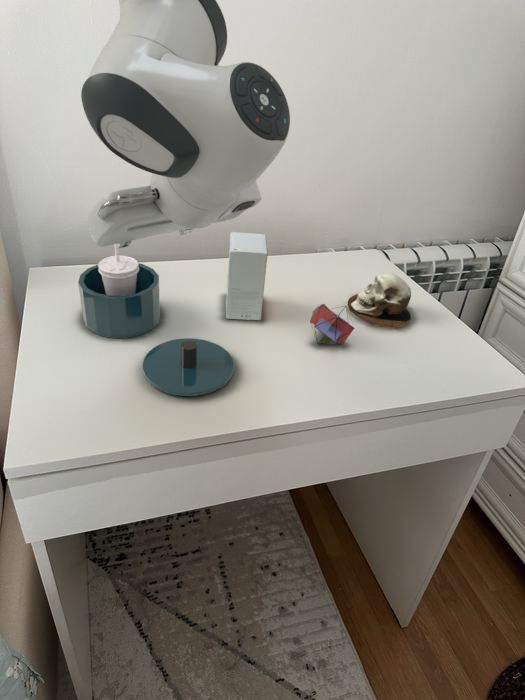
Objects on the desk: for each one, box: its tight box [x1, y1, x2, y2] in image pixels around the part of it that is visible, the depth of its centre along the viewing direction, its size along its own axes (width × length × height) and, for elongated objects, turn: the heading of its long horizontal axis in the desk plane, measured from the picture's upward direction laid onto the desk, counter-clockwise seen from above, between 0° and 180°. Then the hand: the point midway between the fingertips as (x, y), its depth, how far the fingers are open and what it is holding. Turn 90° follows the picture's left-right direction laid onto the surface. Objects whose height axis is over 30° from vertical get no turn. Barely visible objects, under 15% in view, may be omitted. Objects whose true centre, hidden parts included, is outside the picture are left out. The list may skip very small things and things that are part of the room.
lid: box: [142, 337, 235, 397], centre depth 80 cm, size 14×14×5 cm
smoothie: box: [97, 244, 140, 296], centre depth 87 cm, size 6×6×14 cm
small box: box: [225, 231, 269, 321], centre depth 93 cm, size 8×6×13 cm
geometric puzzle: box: [309, 303, 356, 346], centre depth 89 cm, size 7×7×8 cm
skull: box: [347, 272, 412, 329], centre depth 99 cm, size 12×10×10 cm
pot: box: [77, 262, 161, 339], centre depth 89 cm, size 13×13×8 cm
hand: (152, 235), depth 71 cm, fingers open, 8 cm apart
